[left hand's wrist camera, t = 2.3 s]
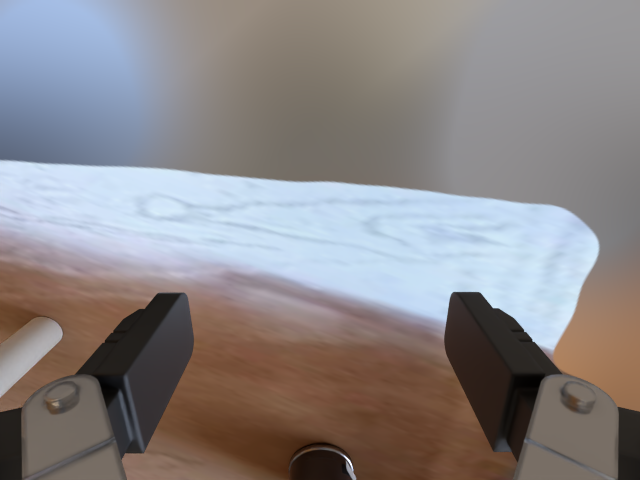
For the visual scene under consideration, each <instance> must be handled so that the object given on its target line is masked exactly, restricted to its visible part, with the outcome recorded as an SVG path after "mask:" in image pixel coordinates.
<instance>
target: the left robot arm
mask: <svg viewBox="0 0 640 480" xmlns="http://www.w3.org/2000/svg"><path fill="white" fill-rule="evenodd" d="M444 343H445V350H446V354H447V357H448V359H449V361H450V363H451V365H452V367H453V369H454V371H455V373H456V375H457V377H458V379H459V382H460V384H461V386H462V388H463V390H464V392H465V394H466V396H467V398H468V400H469V402H470V404H471V406H472V408H473V410H474V412H475V414H476V417H477V419H478V421H479V423H480V425H481V427H482V429H483V431H484V433H485V435H486V437H487V439H488V441H489V443H490V445H491V447H492V449H493V451H494V452H512V453H513V455H514V457H515V458H516V460H517V462H518V464H517V468H516V471H515V475H514V478H513V480H640V412H638V411H634V410H629V409H625V408H621V407H617V405H616V404H615V402H614V401H613V400H612V399H611V397H610V396H609V395H607V394H606V393H605V392H604V391H603V390H601V389H600V388H598V387H597V386H595V385H593V384H591V383H589V382H587V381H585V380H582V379H580V378H577V377H573V376H569V375H563V374H562V373H561V372H560V371H559V370H558V368H557V367H556V366H555V365H554V364H553V363H552V362H551V360H550V359H549V358H548V357H547V356H546V355H545V353H544V352H543V351H542V350H541V349H540V348H539V347H538V345H537V344H536V343H535V342H533V341H532V338H531V337H530V336H529V335H528V334H527V333H526V332H524V329H523V328H522V327H521V326H520V325H519V324H518V322H517V321H516V320H515V319H514V318H513V317H511V316H510V315H508V314H506V313H505V312H503V311H502V310H500V309H499V308H492V306H491V305H490V304H489V303H488V302H487V300H486V299H485V298H484V297H483V295H482V294H481V293H479V292H453V293H452V294H451V297H450V302H449V308H448V315H447V322H446V329H445V336H444ZM193 345H194V336H193V329H192V322H191V316H190V309H189V302H188V298H187V295H186V294H185V293H158V294H157V295H156V296H155V297H154V298H153V299H152V301H151V302H150V303H149V304H148V306H147V307H146V308H145V309H139V310H137V311H136V312H134V313H132V314H131V315H129V316H128V317H126V318H124V319H123V320H122V321H121V323H120V324H119V325H118V326H117V327H116V328H115V329H114V331H113V333H111V334H110V335H109V336H108V337H107V339H106V340H105V343H102V344H101V345H100V347H99V348H98V349H97V350H96V351H95V352H94V353H93V355H92V356H91V357H90V358H89V359H88V360H87V361H86V363H85V364H84V365H83V366H82V367H81V368H80V369H79V371H78V372H77V373H76V374H75V375H71V376H67V377H63V378H60V379H58V380H55V381H53V382H51V383H49V384H47V385H45V386H43V387H42V388H40V389H39V390H37V391H36V392H35V393H34V394H33V395H31V396H30V397H29V399H28V400H27V401H26V402H25V404H24V405H23V407H21V408H18V409H13V410H9V411H4V412H0V480H127V478H126V475H125V471H124V468H123V464H122V461H121V460H122V458H123V456H124V454H125V453H144V451H145V449H146V447H147V445H148V443H149V441H150V439H151V437H152V435H153V433H154V431H155V429H156V427H157V425H158V423H159V421H160V419H161V417H162V415H163V413H164V411H165V409H166V407H167V404H168V402H169V400H170V398H171V396H172V394H173V392H174V390H175V388H176V386H177V384H178V382H179V380H180V378H181V376H182V374H183V372H184V370H185V368H186V366H187V364H188V362H189V360H190V358H191V355H192V351H193ZM289 480H356V477H355V475H354V473H353V464H352V461H351V458H350V457H349V456H348V454H347V453H346V452H344V451H343V450H342V449H340V448H338V447H335V446H332V445H326V444H315V445H310V446H307V447H304V448H302V449H300V450H299V451H297V452H296V453H295V454H294V455H293V457H292V458H291V460H290V463H289Z"/></svg>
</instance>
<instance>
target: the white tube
mask: <svg viewBox="0 0 640 480" xmlns="http://www.w3.org/2000/svg"><path fill="white" fill-rule="evenodd" d="M62 336H63V332H62V329H61V327H60V326H59V324H58V323H57V322H55V321H54V320H52V319H50V318H47V317H36V318H33V319H32V320H31V321H29V322H28V323H27V324H25V325H24V326H23V327H22V328H20V329H19V330H18V331H17V332H15V333H14V334H13V335H11V336H10V337H9V338H8V339H6V340H5V341H4V342H2V343H1V344H0V397H1V396H2V395H3V394H4V393H6V392H7V391H8V390H9V389H10V388H11V387H12V386H13V385H14V384H15V383H16V382H17V381H18V380H19V379H20V378H21V377H22V376H23V375H25V374H26V373H27V372H28V371H29V370H30V369H31V368H32V367H33V366H34V365H35V364H36V363H37V362H38V361H39V360H40V359H41V358H42V357H44V356H45V355H46V354H47V353H48V352H49V351H50V350H51V349H52V348H53V347H54V346H55V345H56V344H57V343H58V342H59V341H60V340H61V339H62Z"/></svg>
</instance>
